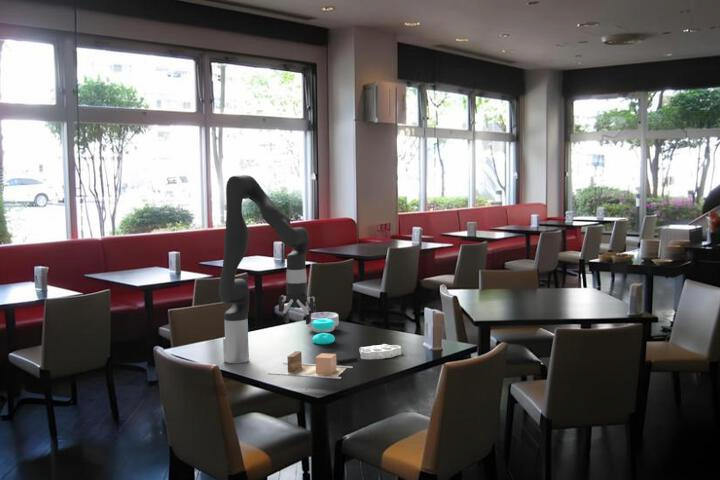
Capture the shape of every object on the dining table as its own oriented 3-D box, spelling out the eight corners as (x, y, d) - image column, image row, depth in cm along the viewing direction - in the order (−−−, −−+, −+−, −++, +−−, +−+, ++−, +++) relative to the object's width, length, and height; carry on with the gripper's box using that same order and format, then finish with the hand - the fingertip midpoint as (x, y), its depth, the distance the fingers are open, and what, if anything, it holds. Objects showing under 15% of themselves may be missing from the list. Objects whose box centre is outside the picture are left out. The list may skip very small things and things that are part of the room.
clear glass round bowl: (321, 336, 306) (320, 319, 306) (301, 331, 318) (300, 315, 317) (345, 330, 317) (345, 314, 316) (325, 326, 328) (325, 310, 327)
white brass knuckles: (390, 349, 281) (407, 356, 267) (352, 354, 273) (367, 362, 260) (389, 341, 280) (407, 348, 267) (351, 346, 272) (367, 354, 259)
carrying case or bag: (362, 364, 258) (343, 356, 270) (362, 356, 257) (343, 349, 270) (339, 368, 252) (321, 360, 264) (339, 361, 252) (320, 353, 264)
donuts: (313, 318, 298) (334, 318, 298) (313, 339, 299) (335, 339, 299) (311, 322, 288) (333, 322, 288) (311, 345, 289) (334, 344, 289)
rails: (268, 377, 241) (268, 373, 241) (284, 366, 256) (284, 362, 256) (340, 382, 233) (340, 377, 233) (352, 370, 248) (352, 366, 248)
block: (315, 373, 241) (315, 357, 240) (321, 368, 246) (321, 353, 246) (331, 374, 239) (330, 358, 239) (336, 369, 245) (336, 354, 244)
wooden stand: (285, 376, 241) (284, 357, 240) (297, 367, 253) (296, 349, 252) (336, 379, 235) (336, 360, 235) (346, 370, 247) (346, 352, 246)
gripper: (274, 281, 243) (275, 324, 245) (310, 283, 239) (311, 326, 240) (283, 278, 250) (284, 320, 252) (317, 280, 246) (318, 322, 247)
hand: (297, 323), depth 246 cm, fingers open, 8 cm apart
